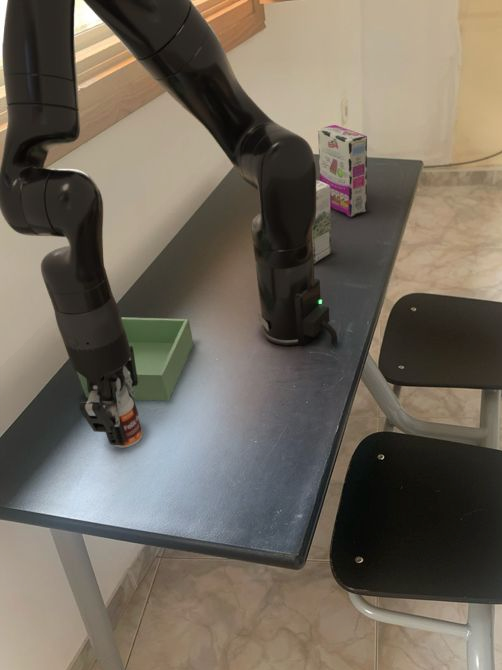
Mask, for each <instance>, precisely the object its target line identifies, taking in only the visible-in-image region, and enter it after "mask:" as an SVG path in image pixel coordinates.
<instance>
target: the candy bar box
mask: <svg viewBox="0 0 502 670" xmlns="http://www.w3.org/2000/svg"><path fill="white" fill-rule="evenodd" d="M317 133H318V134H317V136H318V137H317V138H318V160H319V162H318V163H319V181H321V182H324V183H326V184H328V185H330V209H333V210H334V211H336V212H339V213H341V214H343V215H345V216H347V217H349V218H352V217H355V216H358V215H359V216H360V215H361V214H364V213H366V212H367V196H368V195H367V194H368V193H367V189H368V187H367V186H368V185H367V184H368V183H367V182H368V181H367V179H368V177H367V173H368V135H365V134H362V133H359V132H357V131H354V130H351V129H347V128H345V127H342V126H339V125H336V124H331V125H328V126H324V127H322V128H319V129H317Z"/></svg>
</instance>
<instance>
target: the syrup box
mask: <svg viewBox="0 0 502 670" xmlns="http://www.w3.org/2000/svg"><path fill="white" fill-rule="evenodd" d="M331 219H332V217H331V208H330V185H328V184H326V183H324V182H321V181H320V180H318V179H316V217H315V220H314V223H313V226H312V242H313V261H314V265H315V264H318V263H319V262H320V261H321V260H323V259H325V258H326V257H328V256H329V255H332V229H331V228H332V226H331V225H332V222H331Z"/></svg>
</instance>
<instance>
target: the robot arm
mask: <svg viewBox="0 0 502 670" xmlns="http://www.w3.org/2000/svg"><path fill="white" fill-rule="evenodd" d="M82 1H83V2H84V3H85V5H87V7H88V8H89V9H90V10H91V11H92V12H93V13H94V14H95V15H96V16H97V17H98V18H99V20H100V21H101V22H102V23H103V24H104V25H105V26H106V27H107V28H108V29H109V30H110V31H111V32H112V33H113V34H114V36H115V37H117V39H118V40H119V41H120V42H121V44H122V45H123V46H124V47H125V48H126V50H128V52H129V53H130V54H131V55H132V57H133V58H134V59H135V60H136V61H137V62H138V63H139V64H140V65H141V67H142V68H143V69H144V70H145V71H146V72H147V73H148V74H149V75H150V76H151V77H152V78H153V79H154V81H156V83H157V84H158V85H159V86H161V88H163V90H165V91H166V92H167V93H168V94H169V96H170V97H172V99H174V100H175V102H177V103H178V104H179V105H180V107H182V108H183V109H184V110H185V111H187V112H188V113H189V114H190V115H191V116H192V117H193V118H194V119H195V120H197V121H198V122H199V123H200V124H201V125H202V126H203V127H204V129H205V130H206V131H207V132H208V133H209V134H210V135H211V137H212V138H213V139H214V141H215V143H216V144H218V146H219V148H220V149H221V150H222V151H223V154H225V156H226V157H227V158H228V160H229V161H230V163H231V164H232V165H233V167H234V169H235V170H236V171H237V173H238V174H239V175H240V176H241V178H242V179H243V180H244V181H245V182H246V183H247V184H249V185H250V186H251V187H253V188H254V189H255V190H257V191H258V194H259V195H258V197H259V210H260V213H259V214H257V215H256V216H255V217H254V218H253V219H252V221H251V228H250V229H251V237H252V244H253V245H252V246H253V252H254V262H255V271H256V280H257V288H258V295H259V306H260V313H261V314H260V313H259V312H258V321H259V322H260V324H262V334H263V336H264V338H265V340H267V341H268V342H270V343H272V344H275V345H278V346H289V347H290V346H297V345H298V346H303V347H305V346H307V344H308V343H309V342H310V341H311V340H312V339H314V338H315V337H316V336H317V335H318V334H319V333H320V332H321V331H322V330H323V329H325V331H327V332H328V334H329V335H330V338H331V344H332V345H335V344H336V345H337V344H338V335H337V332H336V329H334V327H333V326H332V325H330V324H329V322H330V307H329V306H326V305H322V302H323V300H322V299H321V280H320V279H319V278H317V277H315V264H314V261H313V242H312V226H313V223H314V220H315V217H316V180H317V166H316V165H317V164H316V159H315V155H314V151H313V149H312V147H311V145H310V143H309V142H308V141H307V140H306V139H305V138H303V137H302V136H301V135H299V134H297V133H295V132H293V131H291V130H290V129H287V128H285V127H283V126H282V125H280V124H278V123H277V122H275V121H274V120H273V119H272V118H270V116H268V115H267V114H266V113H265V112H264V111H263V110H262V109H261V108H260V106H258V104H256V103H255V101H254V100H253V99H252V98H251V97H250V96H249V95H248V93H247V92H246V91H245V90H244V87H242V85H241V84H240V82H239V81H238V79H237V76H236V74H235V72H234V70H233V68H232V65H231V63H230V60H229V58H228V56H227V54H226V52H225V49H224V47H223V45H222V43H221V41H220V39H219V38H218V36H217V35H216V33H215V31H214V30H213V28H212V26H211V25H210V24H209V23H208V21H207V20H206V19H205V17H204V16H203V14H202V13H201V12H200V11H199V9H197V7H196V6H195V3H193V2H192V0H82ZM75 21H76V0H7V1H6V8H5V16H4V24H3V32H2V43H1V44H2V46H1V47H2V49H1V50H2V51H1V53H2V54H1V55H2V56H1V57H2V69H3V70H2V71H3V80H4V90H5V91H4V92H5V102H6V111H7V125H6V132H5V138H4V145H3V150H2V151H3V152H2V158H1V163H0V213H1V215H2V217H3V219H4V220H5V221H6V223H7V225H8V227H10V228H11V229H12V230H13V231H14V232H16V233H17V234H20V235H23V236H30V237H31V236H32V237H33V236H34V237H52V238H53V237H54V238H66V240H67V241H68V244H69V245H66V246H62V247H59V248H56V249H54V250H51V251H50V252H48V253H47V254H46V255H45V256H43V257H42V260H41V263H40V273H41V276H42V277H41V278H42V279H43V282H44V285H45V287H46V291H47V293H48V296H49V299H50V302H51V305H52V308H53V310H54V317H55V321H56V325H57V329H58V331H59V334H60V336H61V339H62V341H63V344H64V347H65V351H66V353H67V355H68V358H69V362H70V364H71V366H72V368H73V369H74V371H75V372H76V373H77V372H78V373H80V374H81V375H82V376H84V377H85V378H86V380H87V389H88V392H89V393H90V395H89V398H87V401H80V403H79V411H80V412H81V413H82V415H83V417H84V418H85V420H86V422H87V423H88V424H89V426H90V428H91V430H92V431H93V432H94V433H105V434H106V438H107V441H108V443H109V444H110V445H112V446H114V445H121V446H123V445H124V444H125V442H126V438H125V434H124V431H123V428H122V425H121V423H120V418H119V409H120V408H121V407H122V405H121V397H120V391H121V389H122V387H123V386H126V388H127V390H128V393H129V396H130V397H131V398H132V399H133V401H134V404H135V408H136V411H137V415H138V416H139V411H138V408H137V405H136V402H135V400H134V398H133V397H134V395H135V390H134V388H133V386H137V384H138V378H137V372H136V365H135V358H134V352H133V347H132V346H129V343H128V340H127V336H126V333H125V329H124V326H123V322H122V318H121V317H122V315H121V312H120V308H119V306H118V303H117V301H116V299H115V297H114V295H113V292H112V288H111V283H110V281H109V277H108V275H107V270H106V267H105V261H104V238H103V237H104V236H103V235H104V234H103V233H104V232H103V231H104V230H103V229H104V228H103V227H104V199H103V196H102V193H101V191H100V189H99V187H98V185H97V183H96V182H95V181H94V179H93V178H92V177H91V176H90V175H89V174H87V173H86V172H84V171H82V170H79V169H76V168H45V164H46V161H47V158H48V156H49V154H50V152H51V151H52V150H54V149H56V148H59V147H62V146H67V145H70V144H73V143H75V142H76V141H78V139H79V137H80V135H81V117H80V100H79V99H80V98H79V85H78V74H77V62H76V33H75V32H76V28H75V27H76V26H75V25H76V22H75ZM128 371H129V372H130V376H131V377H130V376H129V374H128V373H127V372H128ZM100 400H101V401H113V402H114V404H104V403H102V402H101V401H100ZM106 411H109V412H111V413H112V418H110V417H109V416H108V414H107V412H106Z"/></svg>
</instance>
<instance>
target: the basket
mask: <svg viewBox="0 0 502 670" xmlns="http://www.w3.org/2000/svg"><path fill="white" fill-rule="evenodd" d="M121 318H122V322H123V326H124V329H125V333H126V336H127V340H128V343H129V346H132V347H133V352H134V358H135V365H136V372H137V378H138V384H137V386H133V388H134V390H135V395H134V397H133V398H134V401H135V400H138V401H158V402H159V401H164V402H169V401H170V399H171V396H172V394H173V392H174V390H175V387H176V385H177V382H178V380H179V378H180V376H181V374H182V371H183V369H184V367H185V364H186V362H187V360H188V358H189V356H190V353H191V350H192V349H193V346H194V339H193V335H192V329H191V325H190V320H189V319H188V318H162V317H160V318H158V317H122V316H121ZM76 373H77V376H78V379H79V382H80V385H81V387H82V390H83V392H84V395H85V398H87V399H88V398H89V395H90V393H89V392H88V389H87V380H86V378H85V377H84V376H82V375H81V374H80V373H78V372H77V371H76ZM127 373H128V374H129V376H130V372H129V371H128V372H127ZM130 377H131V376H130Z"/></svg>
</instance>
